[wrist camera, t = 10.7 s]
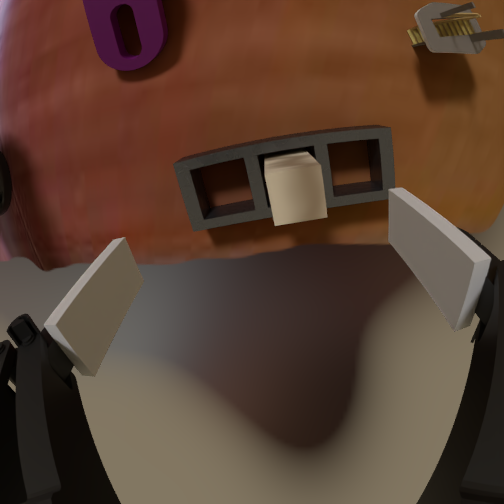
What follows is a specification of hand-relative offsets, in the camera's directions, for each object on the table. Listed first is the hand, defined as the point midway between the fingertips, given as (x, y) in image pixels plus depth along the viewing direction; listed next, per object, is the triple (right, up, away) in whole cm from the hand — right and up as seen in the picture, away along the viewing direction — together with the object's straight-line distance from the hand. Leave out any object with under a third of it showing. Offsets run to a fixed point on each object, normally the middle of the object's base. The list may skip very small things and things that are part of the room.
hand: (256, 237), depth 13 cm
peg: (+4, +10, +22) cm, 25 cm away
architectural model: (+25, +30, +11) cm, 41 cm away
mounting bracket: (-16, +32, +12) cm, 37 cm away
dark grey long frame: (+4, +10, +22) cm, 25 cm away
